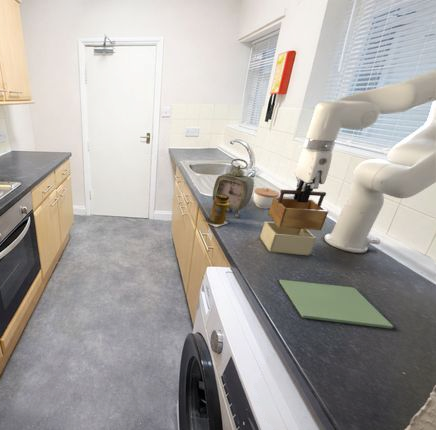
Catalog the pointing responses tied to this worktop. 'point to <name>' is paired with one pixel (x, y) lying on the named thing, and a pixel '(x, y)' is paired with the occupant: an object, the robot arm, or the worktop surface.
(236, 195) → the tabletop clock
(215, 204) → the condiment
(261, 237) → the cream basket
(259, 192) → the trinket box
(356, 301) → the green mat
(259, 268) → the worktop surface
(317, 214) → the wooden basket
